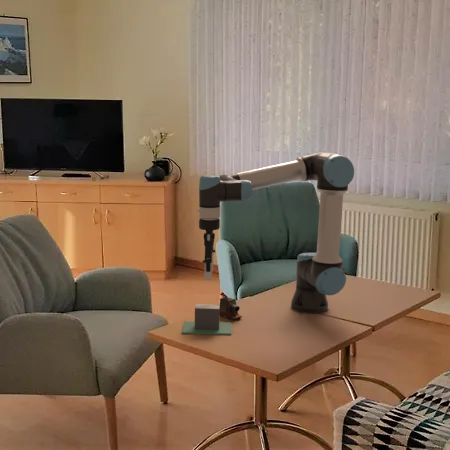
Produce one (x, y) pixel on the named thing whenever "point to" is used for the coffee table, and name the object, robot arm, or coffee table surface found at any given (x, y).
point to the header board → (223, 329)
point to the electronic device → (229, 308)
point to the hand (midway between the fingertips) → (208, 274)
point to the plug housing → (207, 316)
